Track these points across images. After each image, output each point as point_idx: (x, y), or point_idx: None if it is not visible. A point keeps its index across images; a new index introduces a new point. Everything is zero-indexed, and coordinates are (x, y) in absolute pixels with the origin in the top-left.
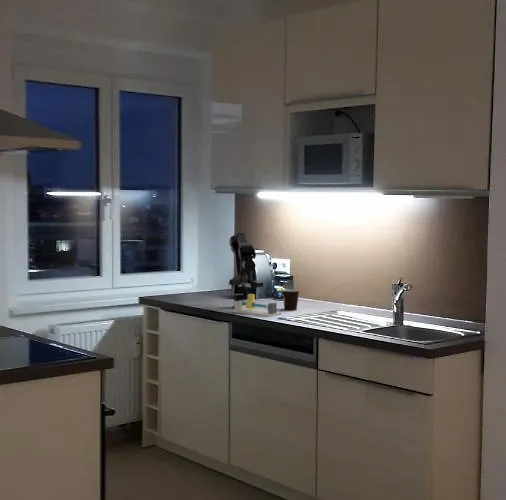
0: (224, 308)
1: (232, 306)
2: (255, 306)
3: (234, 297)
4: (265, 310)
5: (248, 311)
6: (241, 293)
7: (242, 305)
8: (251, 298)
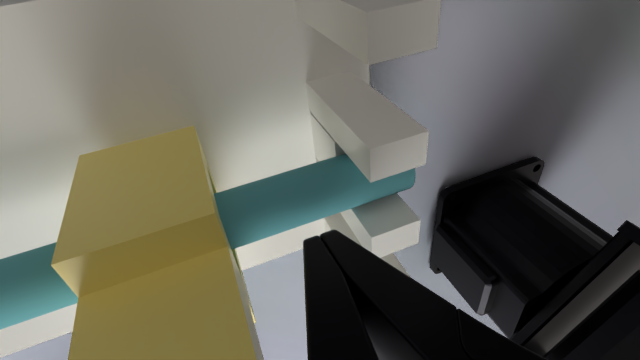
0: (574, 57)
1: (539, 160)
2: (23, 254)
3: (610, 237)
4: (48, 323)
5: (33, 71)
6: (579, 323)
7: (333, 146)
8: (91, 346)
